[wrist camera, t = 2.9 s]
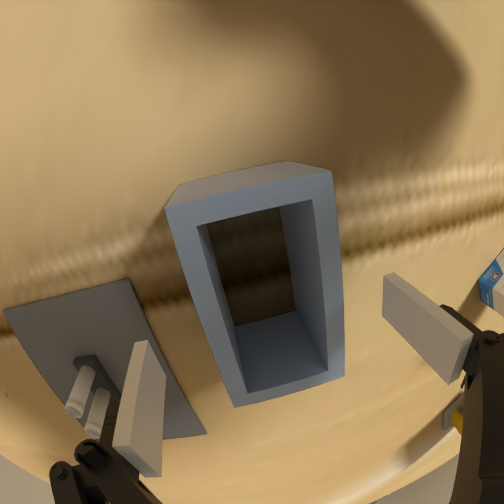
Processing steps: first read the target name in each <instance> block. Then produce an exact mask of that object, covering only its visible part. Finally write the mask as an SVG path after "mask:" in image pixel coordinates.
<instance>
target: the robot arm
mask: <svg viewBox="0 0 504 504" xmlns="http://www.w3.org/2000/svg"><path fill="white" fill-rule="evenodd" d="M382 316H383V317H384V318H385V319H386V320H387V321H388V322H389V323H390V324H391V325H392V326H393V327H394V328H395V329H396V330H397V331H398V332H399V333H400V335H401V336H402V337H403V338H404V339H405V340H406V341H407V342H408V343H409V344H410V345H411V346H412V347H413V348H414V349H415V350H416V351H417V352H418V353H419V354H420V355H421V356H422V357H423V359H424V360H425V361H426V362H427V363H428V364H429V365H430V366H431V367H432V368H433V369H434V370H435V371H436V372H437V374H438V375H439V376H440V377H441V378H442V379H443V380H444V381H445V382H446V383H447V385H449V384H450V383H452V382H453V381H455V380H456V379H458V378H459V376H460V374H461V371H462V369H463V370H464V371H465V372H466V374H465V377H464V379H463V382H462V384H461V388H463V386H464V384H465V390H464V415H463V428H462V438H461V446H460V454H459V461H458V466H457V473H456V478H455V482H454V487H453V492H452V496H451V500H450V502H449V504H504V333H502V334H498V333H496V332H494V331H490V330H487V331H483V332H482V331H481V330H480V329H478V328H477V327H476V326H475V325H473V324H472V323H471V322H470V321H468V320H467V319H466V318H463V316H462V315H461V314H458V312H457V311H455V310H454V309H453V308H451V307H449V306H446V305H443V304H442V305H440V306H438V305H437V304H436V303H434V302H433V301H432V300H431V299H429V298H428V297H427V296H425V295H424V294H423V293H421V292H420V291H419V290H417V289H416V288H415V287H413V286H412V285H411V284H409V283H408V282H407V281H405V280H404V279H403V278H401V277H400V276H398V275H397V274H396V273H394V272H393V273H390V274H387V275H384V276H383V305H382ZM165 388H166V375H165V373H164V371H163V369H162V367H161V365H160V363H159V361H158V360H157V358H156V356H155V354H154V352H153V350H152V348H151V346H150V344H149V341H148V340H144V341H139V342H135V343H134V347H133V351H132V355H131V359H130V363H129V367H128V371H127V375H126V379H125V383H124V388H123V392H122V397H121V399H119V400H112V401H111V403H110V404H109V406H108V407H107V409H106V413H105V419H104V422H103V426H102V431H101V435H100V440H99V442H98V441H96V440H93V439H86V440H84V441H82V442H81V443H80V444H79V445H77V447H76V449H75V453H74V456H75V459H76V461H78V462H79V463H80V465H76V466H71V465H69V464H68V463H67V462H64V461H60V462H57V463H55V464H54V465H53V466H52V467H51V469H50V472H49V477H50V482H51V487H52V492H53V496H54V500H55V504H162V503H161V502H160V501H159V500H158V499H157V498H156V497H155V495H154V494H153V493H152V492H151V491H150V490H149V489H148V488H147V487H146V486H145V485H144V484H143V483H142V482H141V481H140V480H139V472H140V473H141V474H142V475H143V476H144V477H145V478H146V477H161V476H162V437H163V417H164V401H165ZM109 502H110V503H109Z"/></svg>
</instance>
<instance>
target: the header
mask: <svg viewBox="0 0 504 504" xmlns="http://www.w3.org/2000/svg"><path fill="white" fill-rule="evenodd" d="M3 313H4V315H5V317H6V319H7V321H8V322H9V324H10V326H11V328H12V330H13V331H14V333H15V335H16V336H17V338H18V340H19V341H20V343H21V345H22V346H23V348H24V350H25V351H26V353H27V354H28V356H29V357H30V359H31V360H32V362H33V363H34V365H35V366H36V368H37V369H38V371H39V372H40V374H41V375H42V376H43V378H44V379H45V380H46V382H47V383H48V385H49V386H50V387H51V389H52V390H53V391H54V392H55V394H56V395H57V396H58V398H59V399H60V400H61V401H62V402H63V404H64V405H65V408H64V409H65V411H66V413H67V414H69V415H70V416H72V417H74V418H76V419H77V420H78V421H79V422H80V423H81V425H82V426H83V427H84V432H85V433H86V434H87V435H88V436H90V437H92V438H95V439H96V440H97V441H98V442H99V440H100V435H101V431H102V426H103V422H104V419H105V413H106V409H107V407H108V406H109V404H110V403H111V401H112V400H119V399H121V397H122V392H123V388H124V383H125V379H126V375H127V371H128V367H129V363H130V359H131V355H132V351H133V347H134V343H135V342H139V341H144V340H148V341H149V344H150V346H151V348H152V350H153V352H154V354H155V356H156V358H157V360H158V361H159V363H160V365H161V367H162V369H163V371H164V373H165V375H166V388H165V401H164V417H163V437H162V440H164V439H174V438H183V437H191V436H198V435H205V434H207V432H206V430H205V429H204V427H203V426H202V424H201V422H200V421H199V419H198V417H197V416H196V414H195V412H194V411H193V409H192V407H191V405H190V404H189V402H188V400H187V398H186V397H185V395H184V393H183V391H182V390H181V388H180V386H179V384H178V382H177V380H176V378H175V377H174V375H173V373H172V371H171V369H170V367H169V365H168V363H167V361H166V359H165V357H164V355H163V353H162V351H161V349H160V347H159V345H158V343H157V341H156V339H155V337H154V334H153V332H152V330H151V328H150V326H149V324H148V321H147V319H146V317H145V315H144V312H143V310H142V308H141V305H140V303H139V301H138V298H137V296H136V293H135V291H134V289H133V286H132V284H131V281H130V279H129V278H127V279H123V280H119V281H115V282H111V283H107V284H103V285H99V286H96V287H92V288H88V289H84V290H80V291H76V292H72V293H68V294H64V295H60V296H56V297H52V298H48V299H44V300H40V301H37V302H33V303H29V304H25V305H21V306H17V307H13V308H9V309H5V310H3Z"/></svg>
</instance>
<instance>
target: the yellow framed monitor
mask: <svg viewBox="0 0 504 504" xmlns="http://www.w3.org/2000/svg"><path fill="white" fill-rule="evenodd" d="M463 415H464V392H463V393H462V394H461V395H460V396H459V397H458V398H457V399H456V400H455V401H454V402H453V403H452V404H451V405H450V406H448V407H447V408H446V409H445V410H444V417H443V429H444V430H446V429H447V428H449V427H450V426H452V425H454V426H455V427H456V429H457V430H458V431H459V433H460V434H461V436H462V428H463Z"/></svg>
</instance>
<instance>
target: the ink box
mask: <svg viewBox="0 0 504 504" xmlns="http://www.w3.org/2000/svg"><path fill="white" fill-rule="evenodd" d="M478 281H479V287H480V293H481V301H482V302H484V303H485V304H486V305H488V306H489V307H491V308H492V309H493V310H495V311H496V312H498V313H499V314H500V315H502V316H503V317H504V249H503V250H502V251H501V253H500V254H499V255H498V257H497V258H496V259H495V260H494V262H493V263H492V264H491V265H490V266H489V268H488V269H487V270H486V271H485V272H484V274H483V275H482V276H481V277H480V278H479V280H478Z"/></svg>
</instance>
